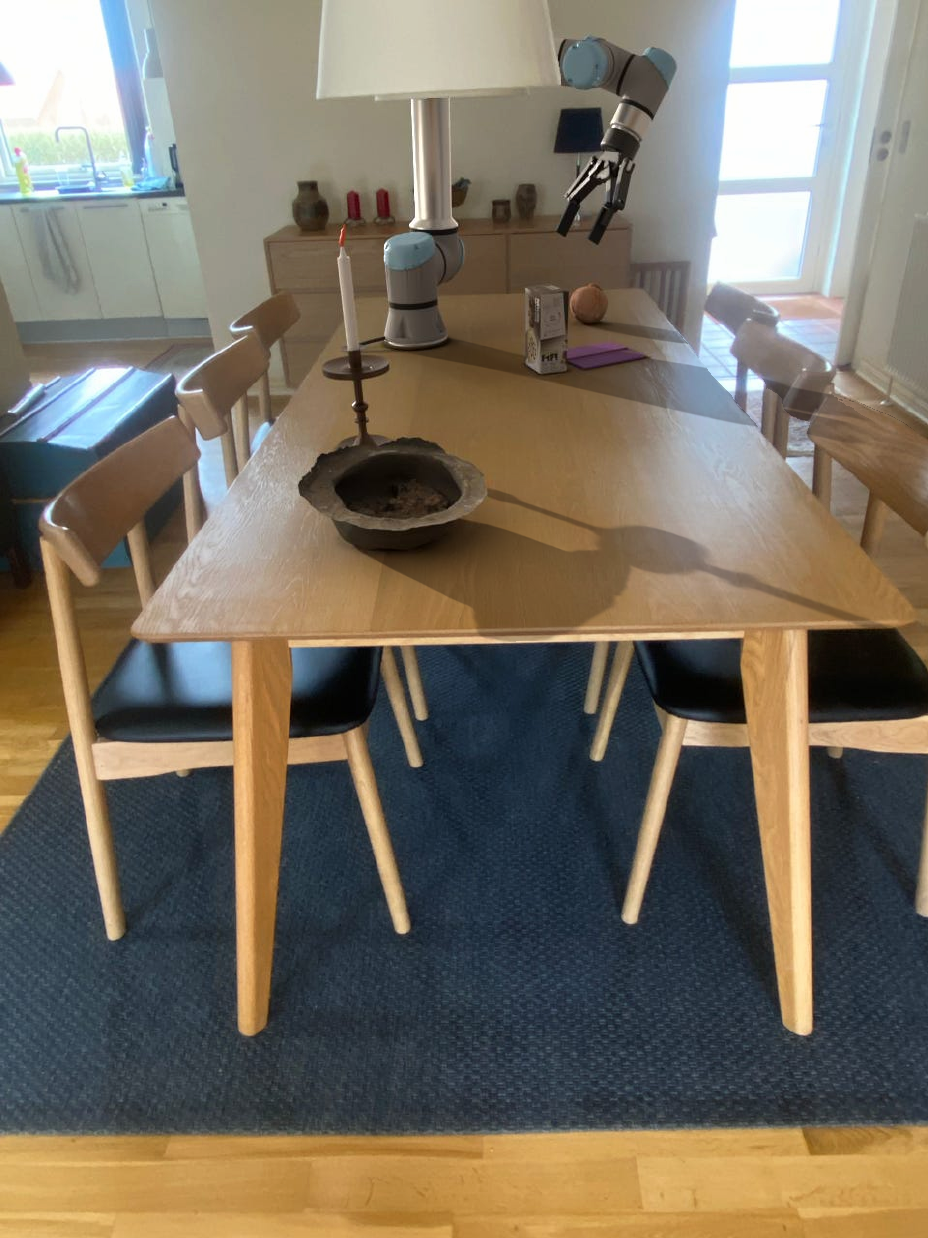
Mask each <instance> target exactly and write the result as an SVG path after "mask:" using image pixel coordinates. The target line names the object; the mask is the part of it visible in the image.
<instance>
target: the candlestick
mask: <svg viewBox="0 0 928 1238" xmlns="http://www.w3.org/2000/svg"><path fill="white" fill-rule="evenodd" d="M345 241H346V224H345V223H344V224H343V227H342V229H341V230H340V237H339V241H338V244H339V246H340V249H339V250H340V252H339V256H338V257H336V259H337V267H338V274H339V275H338V276H339V284H340V285H339V286H340V293H341V301H342V311H343V320H344V328H345V336H346V345H344V346H342V347H341V348H340V349H341V351H343V352H347V355H344V356H339V357H336V358H333V359H329V360H327V361H325V362H324V363H323V364H322V365H321V371H322V373H321V374H322V375H323V377H325V378H326V379H329V380H334V381H345V382H347V381H348V382H349V381H351V382H353V391H354V399H355V400H354V401H355V402H353V403H352V404H351V408H352V411H353V412H354V413H356V418H354V424H357V427H358V434H357V435H353V436H349V437H347V438H344V439H343V440H341V441H340V442H338V445H337V449H338V448H339V447H341V448H342V449H344V448H345V447H346V446H349V447H351V446H355V445H359V446H362V445H365V446H368V445H370V447H377V446H379V445H382V444H384V443H387V442H391V441H392V440H391V439H390V438H389V437H387V436H385V435H381V434H374V433H373V434H369V432H368V428H367V426H368V425H367V423H369V422H370V418H369V417H367V414H366V412H367V411H368V409H369V406H370V405H369V403H368V402H367V401H365V400H364V391H363V383H362V382H363V381H365V380H369V379H374V378H377V377H381V376H384V375H385V374H387V373H388V372H389V371H390V361H389V359H388V358H386V357H384V356H380V355H374V354H362V350H365V349H366V348H367V346H366V345H359V343H360V340H359V331H358V321H357V313H356V304H355V294H354V285H353V276H352V275H353V274H352V266H351V258H350V256H348V255H347V253H346V250H345V247H344V246H345Z"/></svg>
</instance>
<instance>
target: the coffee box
mask: <svg viewBox="0 0 928 1238" xmlns="http://www.w3.org/2000/svg"><path fill="white" fill-rule="evenodd" d="M569 298H570V291H569V290H568V289H566V288H563V287H561V286H558V285H556V284H554V283H545V284H538V285H533V286H525V287H524V313H525V314H524V317H525V319H524V321H525V322H524V325H525V329H524V330H525V331H524V332H525V365H526V366H527V367H529V368H530V369H532V370H533V371H535V372H536V373H538V374H539V375H546V374H554V373H563V372H567V370H568V362H567V349H568V342H569V341H568V339H569V308H570V299H569Z"/></svg>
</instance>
